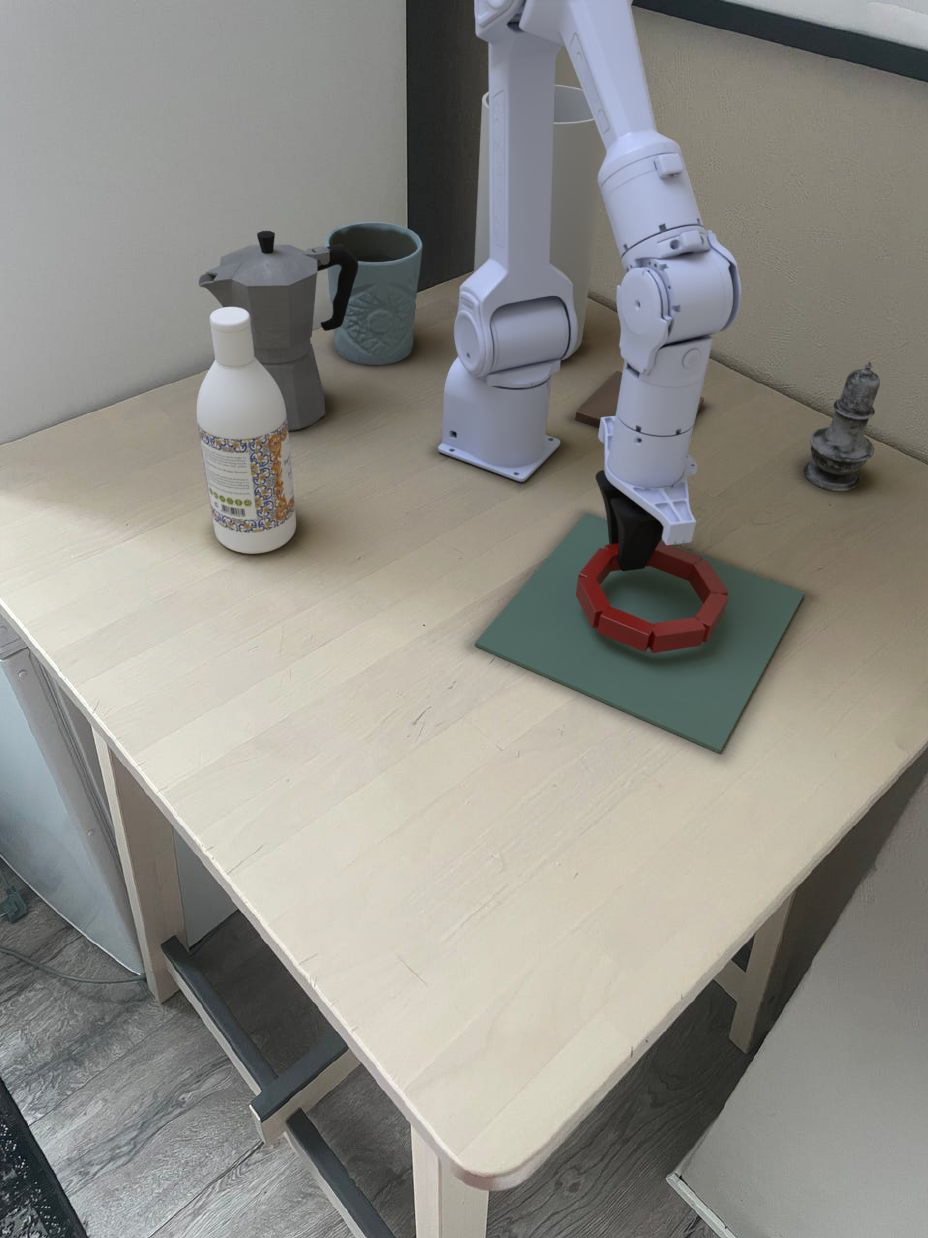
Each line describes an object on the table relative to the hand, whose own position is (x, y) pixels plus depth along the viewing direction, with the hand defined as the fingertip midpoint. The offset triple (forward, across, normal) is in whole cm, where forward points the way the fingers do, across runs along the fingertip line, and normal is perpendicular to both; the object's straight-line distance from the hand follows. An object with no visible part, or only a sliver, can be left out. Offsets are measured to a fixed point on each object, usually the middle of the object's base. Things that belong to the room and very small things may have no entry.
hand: (627, 559), depth 84 cm
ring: (0, -5, 0) cm, 5 cm away
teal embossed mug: (+3, +43, +13) cm, 45 cm away
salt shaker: (+3, +11, -26) cm, 28 cm away
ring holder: (+2, +25, -11) cm, 27 cm away
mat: (+2, -5, 0) cm, 5 cm away
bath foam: (+3, +13, +29) cm, 32 cm away
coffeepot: (+3, +33, +23) cm, 40 cm away
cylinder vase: (+3, +42, -4) cm, 42 cm away
